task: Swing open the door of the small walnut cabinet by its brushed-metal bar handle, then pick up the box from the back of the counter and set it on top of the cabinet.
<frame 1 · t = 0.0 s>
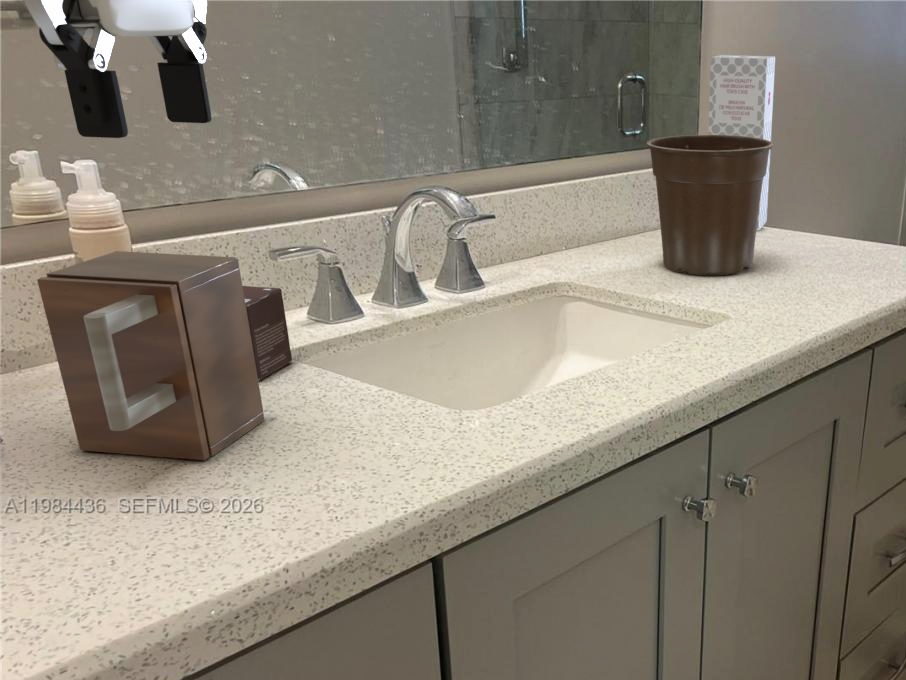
hand: (149, 129, 72), 24 cm above the worktop, tool pointing down, fingers open, 9 cm apart
box 2: (736, 225, 168), on the worktop
door: (99, 384, 74), point 7 cm above the worktop, hinge at 0.0°
cabinet: (180, 433, 84), on the worktop
plant pot: (706, 267, 141), on the worktop
box: (249, 371, 99), on the worktop
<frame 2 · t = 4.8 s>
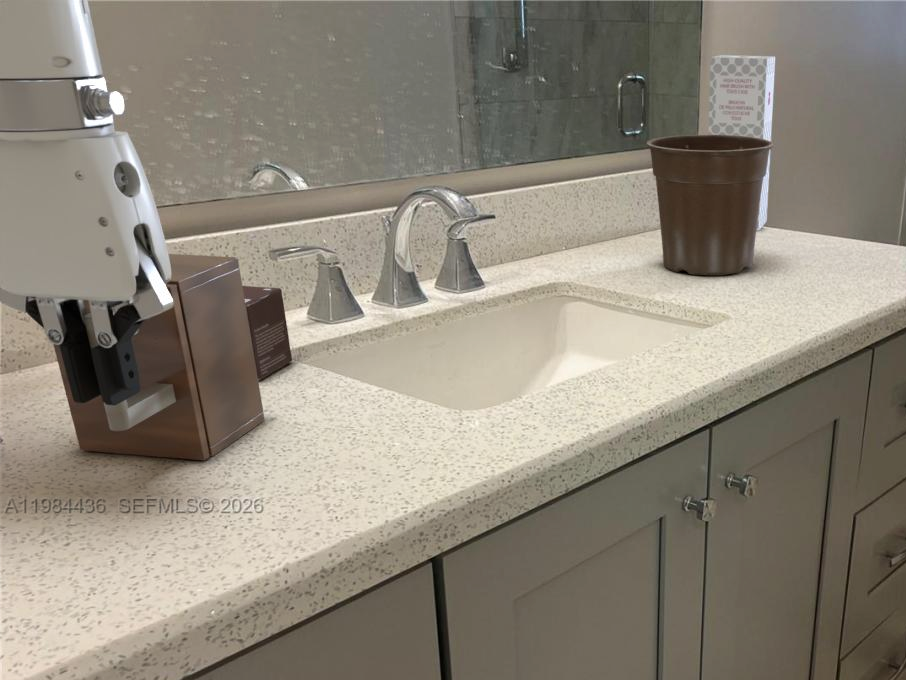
hand: (108, 395, 71), 7 cm above the worktop, tool pointing down, fingers closed
door: (99, 384, 74), point 7 cm above the worktop, hinge at 0.0°, touching gripper
everything else where it was.
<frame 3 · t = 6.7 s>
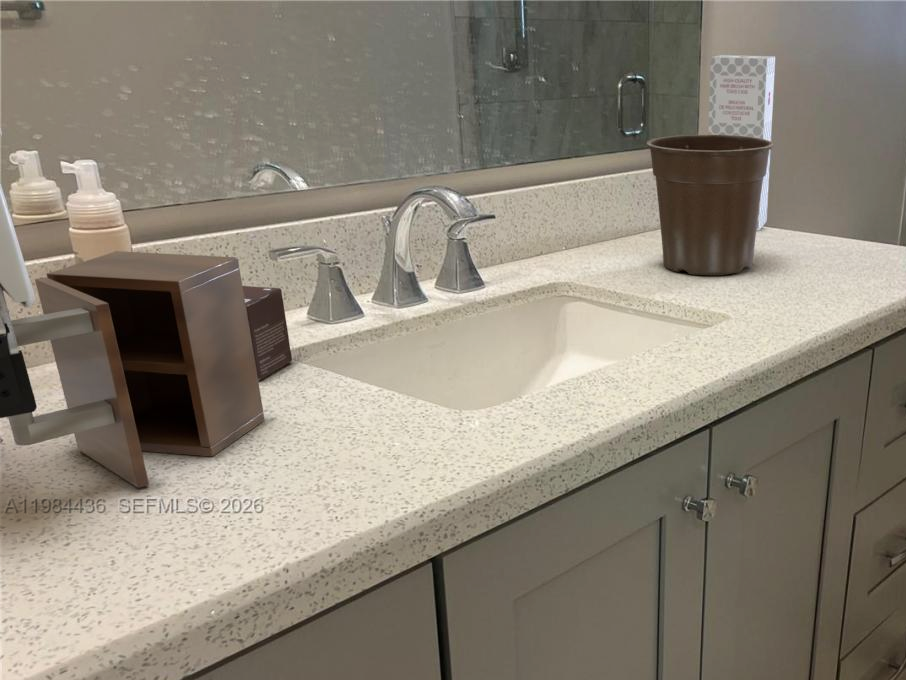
hand: (5, 408, 68), 7 cm above the worktop, tool pointing down, fingers closed
door: (45, 392, 73), point 7 cm above the worktop, hinge at 32.1°, touching gripper
everything else where it was.
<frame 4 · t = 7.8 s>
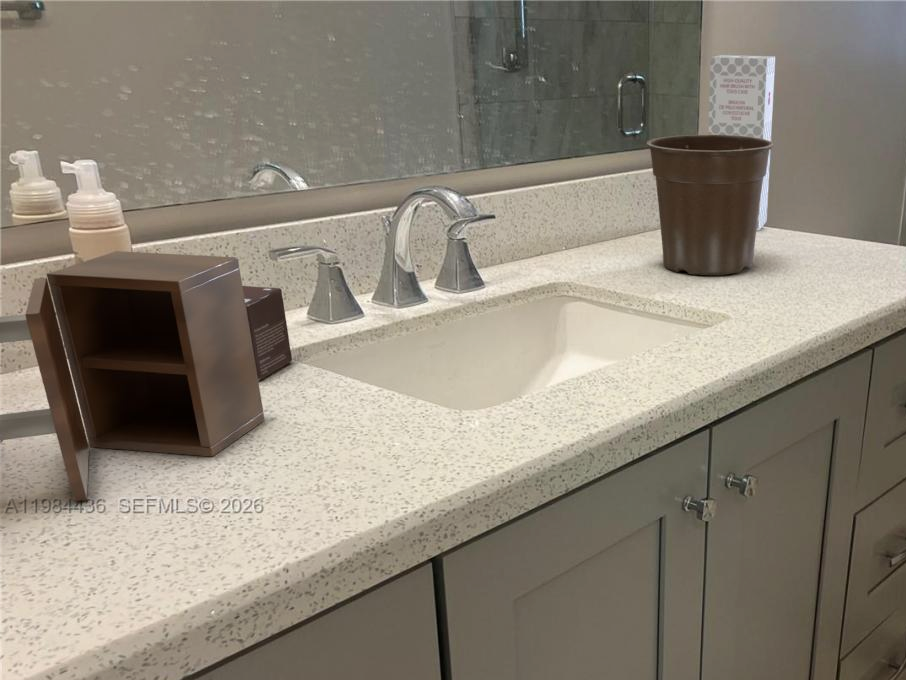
door: (9, 393, 72), point 7 cm above the worktop, hinge at 54.8°
everything else where it was.
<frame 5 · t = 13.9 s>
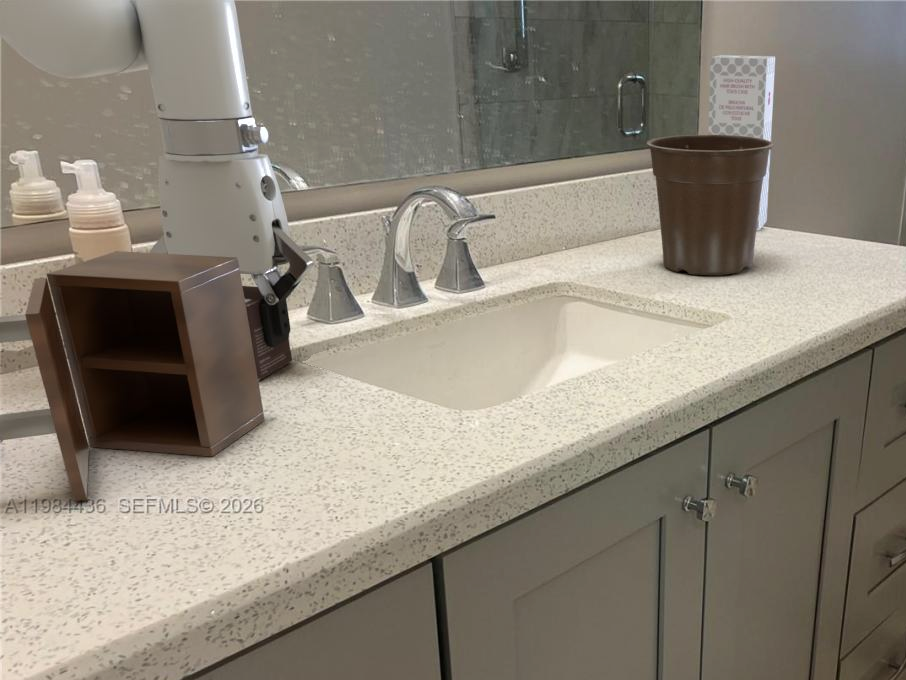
hand: (243, 339, 97), 3 cm above the worktop, tool pointing down, fingers closed on box, 6 cm apart
box: (249, 371, 99), on the worktop, touching gripper
everything else where it was.
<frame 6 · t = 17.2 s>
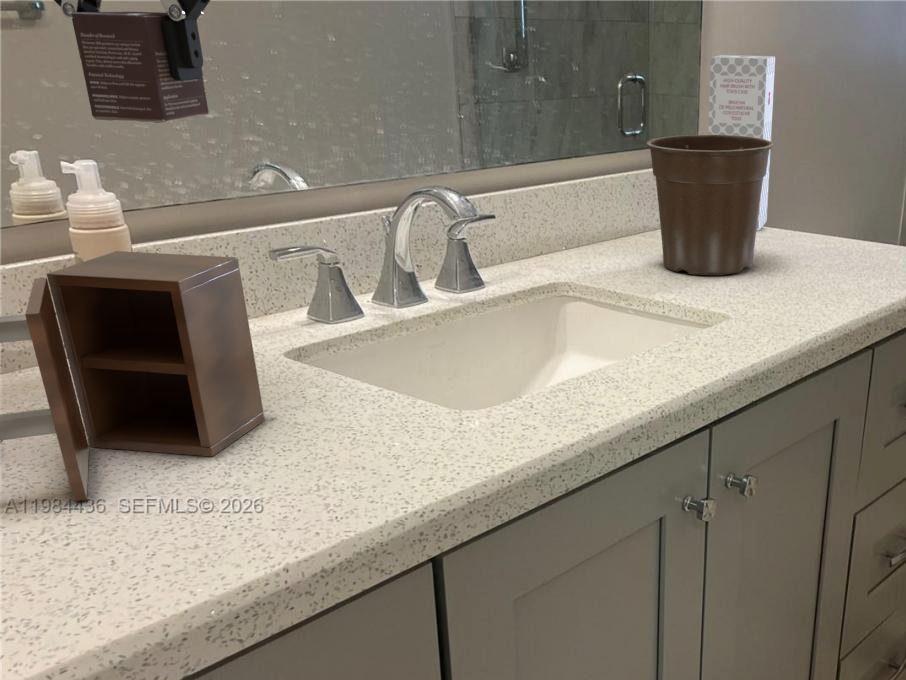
hand: (144, 75, 78), 26 cm above the worktop, tool pointing down, fingers closed on box, 6 cm apart
box: (153, 120, 80), point 23 cm above the worktop, touching gripper
everything else where it was.
when the fingers open (17 cm above the worktop, at t = 20.6 s): box stays where it is, resting on cabinet.
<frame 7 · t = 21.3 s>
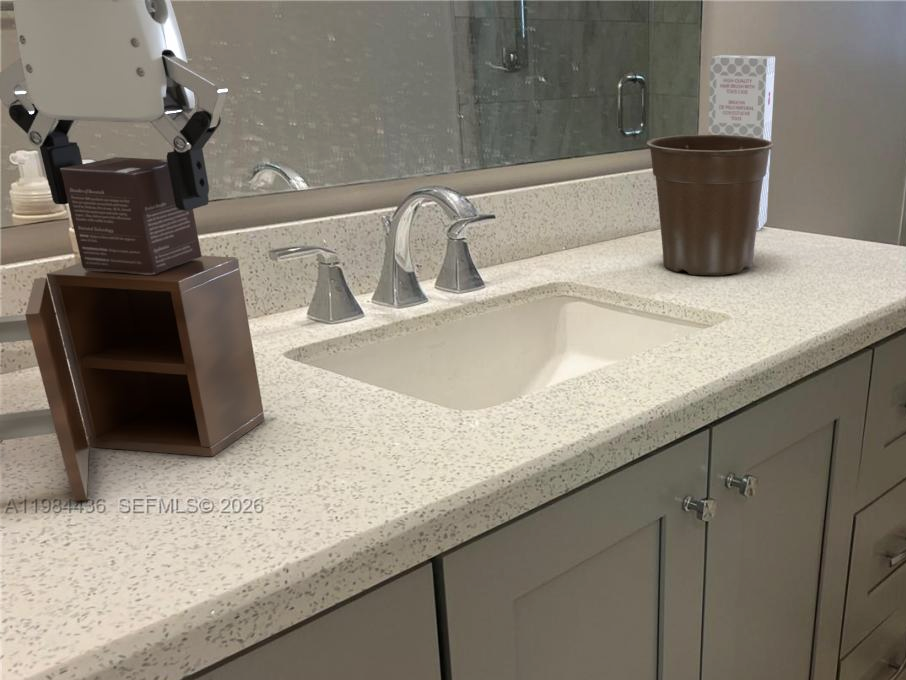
hand: (132, 204, 76), 18 cm above the worktop, tool pointing down, fingers open, 9 cm apart
box: (145, 267, 78), point 13 cm above the worktop, touching cabinet
everything else where it was.
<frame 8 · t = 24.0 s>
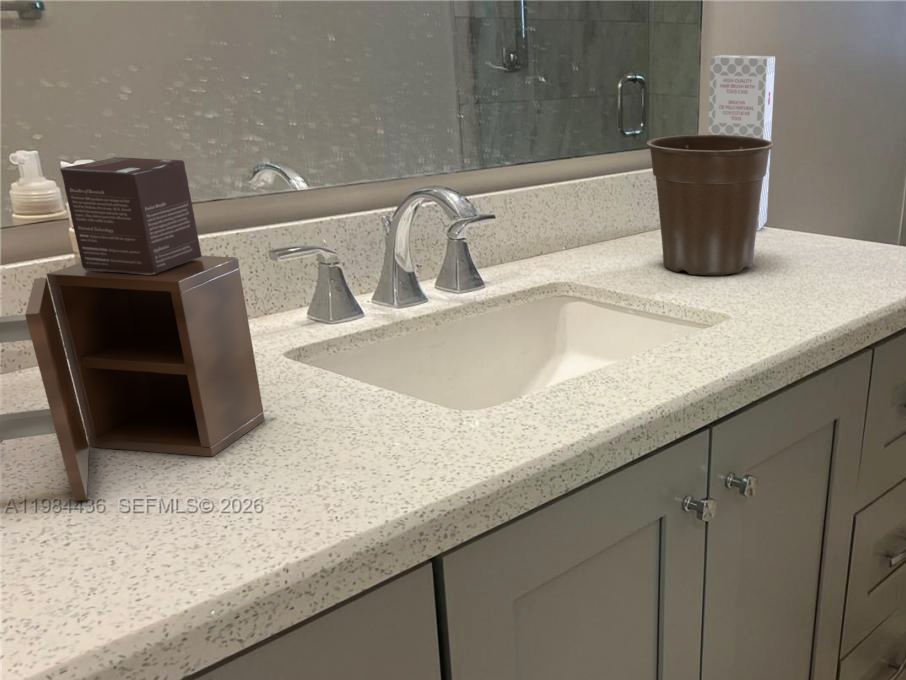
nothing on the worktop moved.
at the end: door at +55° (first picture: +0°); box inside the target area on the cabinet (0.1 cm from its centre), point 13.4 cm above the cabinet's base; box tilted 0° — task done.
